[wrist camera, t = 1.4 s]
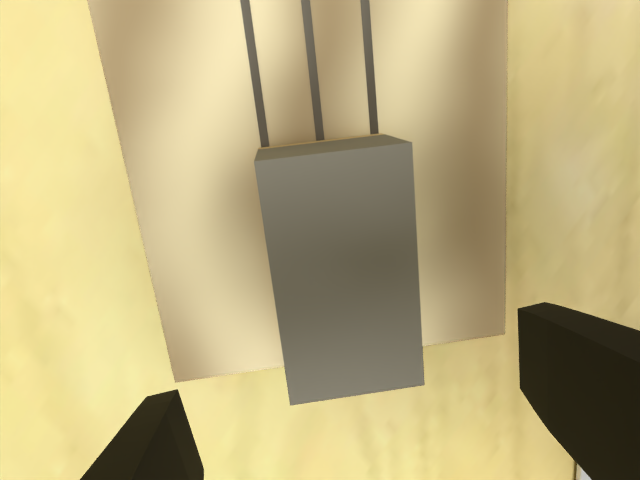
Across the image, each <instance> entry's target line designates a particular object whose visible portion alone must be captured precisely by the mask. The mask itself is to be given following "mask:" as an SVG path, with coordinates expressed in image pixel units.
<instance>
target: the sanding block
mask: <svg viewBox="0 0 640 480" xmlns="http://www.w3.org/2000/svg"><path fill="white" fill-rule="evenodd" d="M254 166H255V173H256V180H257V186H258V193H259V200H260V206H261V213H262V220H263V226H264V233H265V240H266V246H267V253H268V260H269V267H270V273H271V280H272V287H273V293H274V300H275V307H276V313H277V320H278V327H279V333H280V340H281V347H282V354H283V360H284V367H285V374H286V380H287V387H288V394H289V400H290V405H296V404H303V403H309V402H316V401H323V400H329V399H336V398H342V397H349V396H356V395H362V394H369V393H375V392H382V391H389V390H395V389H402V388H408V387H415V386H422V385H424V367H423V347H422V327H421V307H420V288H419V268H418V248H417V228H416V208H415V188H414V168H413V149H412V142H409V141H406V140H403V139H399V138H396V137H393V136H389V135H386V134H382V133H379V134H371V135H362V136H354V137H346V138H337V139H329V140H320V141H312V142H304V143H295V144H287V145H279V146H270V147H262V148H258V151H257V154H256V157H255V159H254Z"/></svg>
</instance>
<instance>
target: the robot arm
mask: <svg viewBox="0 0 640 480" xmlns="http://www.w3.org/2000/svg"><path fill="white" fill-rule="evenodd" d="M518 334H519V370H520V389H521V390H522V392H523V394H524V395H525V397H526V398H527V400H528V401H529V403H530V404H531V406H532V407H533V409H534V410H535V412H536V413H537V415H538V416H539V418H540V419H541V420H542V422H543V423H544V425H545V426H546V427H547V429H548V430H549V431H550V433H551V434H552V435H553V436H554V437H555V438H556V440H557V441H558V442H559V443H560V444H561V445H562V447H563V448H564V449H565V450H566V451H567V452H568V453H569V455H570V456H571V457H572V458H573V459H574V460H575V461H576V463H577V472H576V480H640V331H639V330H635V329H632V328H629V327H626V326H623V325H620V324H617V323H614V322H610V321H607V320H604V319H601V318H598V317H595V316H592V315H589V314H586V313H582V312H579V311H576V310H572V309H569V308H566V307H562V306H558V305H555V304H550V303H546V302H544V303H539V304H535V305H531V306H527V307H523V308H518ZM80 480H204V468H203V465H202V462H201V459H200V456H199V453H198V450H197V447H196V444H195V441H194V438H193V434H192V431H191V428H190V425H189V422H188V419H187V416H186V413H185V410H184V407H183V404H182V401H181V398H180V395H179V392H178V389H177V390H173V391H169V392H164V393H160V394H156V395H152V396H147V397H146V398H145V399H144V401H143V402H142V403H141V404H140V405H139V406H138V408H137V409H136V410H135V411H134V413H133V414H132V415H131V416H130V418H129V419H128V420H127V422H126V423H125V424H124V425H123V427H122V428H121V429H120V430H119V432H118V433H117V434H116V436H115V437H114V438H113V439H112V441H111V442H110V443H109V444H108V446H107V447H106V448H105V449H104V451H103V452H102V453H101V454H100V456H99V457H98V458H97V459H96V460H95V462H94V463H93V464H92V465H91V467H90V468H89V469H88V470H87V472H86V473H85V474H84V475H83V477H82V478H81V479H80Z"/></svg>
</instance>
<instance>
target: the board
mask: <svg viewBox="0 0 640 480" xmlns="http://www.w3.org/2000/svg"><path fill="white" fill-rule="evenodd" d="M87 1H88V5H89V10H90V14H91V18H92V23H93V27H94V32H95V36H96V40H97V45H98V49H99V53H100V58H101V62H102V66H103V71H104V75H105V79H106V84H107V88H108V92H109V97H110V101H111V105H112V110H113V114H114V118H115V123H116V127H117V132H118V136H119V140H120V145H121V149H122V153H123V158H124V162H125V166H126V171H127V175H128V179H129V184H130V188H131V192H132V197H133V201H134V205H135V210H136V214H137V219H138V223H139V227H140V232H141V236H142V240H143V245H144V249H145V253H146V258H147V262H148V266H149V271H150V275H151V279H152V284H153V288H154V292H155V297H156V301H157V306H158V310H159V314H160V319H161V323H162V327H163V332H164V336H165V340H166V345H167V349H168V353H169V358H170V362H171V366H172V371H173V375H174V379H175V383H176V382H182V381H189V380H196V379H203V378H210V377H217V376H223V375H230V374H237V373H244V372H251V371H257V370H264V369H271V368H278V367H284V360H283V354H282V347H281V340H280V333H279V327H278V320H277V313H276V307H275V300H274V293H273V287H272V280H271V273H270V267H269V260H268V253H267V246H266V240H265V233H264V226H263V220H262V213H261V206H260V200H259V193H258V186H257V180H256V173H255V166H254V159H255V157H256V154H257V151H258V148H262V147H270V146H279V145H287V144H295V143H304V142H312V141H320V140H329V139H337V138H346V137H354V136H362V135H371V134H379V133H382V134H386V135H389V136H393V137H396V138H399V139H403V140H406V141H409V142H412V149H413V168H414V188H415V208H416V228H417V248H418V268H419V288H420V307H421V327H422V346H428V345H435V344H441V343H448V342H455V341H462V340H469V339H476V338H482V337H489V336H496V335H503V334H505V281H506V150H507V19H508V0H87Z"/></svg>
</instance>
